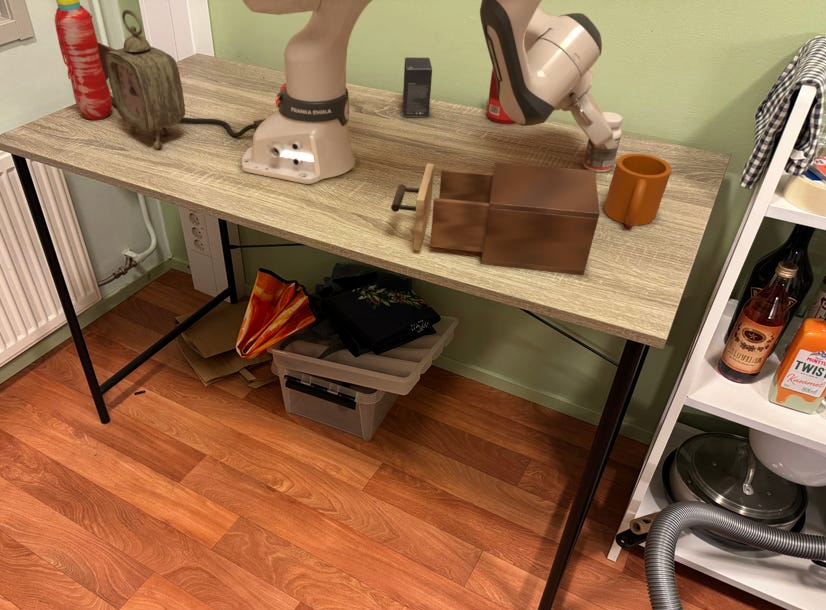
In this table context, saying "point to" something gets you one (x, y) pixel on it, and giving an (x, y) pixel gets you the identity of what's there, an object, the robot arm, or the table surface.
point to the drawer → (450, 208)
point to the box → (417, 87)
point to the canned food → (496, 104)
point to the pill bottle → (604, 147)
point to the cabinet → (541, 218)
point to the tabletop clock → (145, 84)
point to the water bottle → (83, 59)
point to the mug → (636, 189)
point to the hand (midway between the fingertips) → (608, 137)
